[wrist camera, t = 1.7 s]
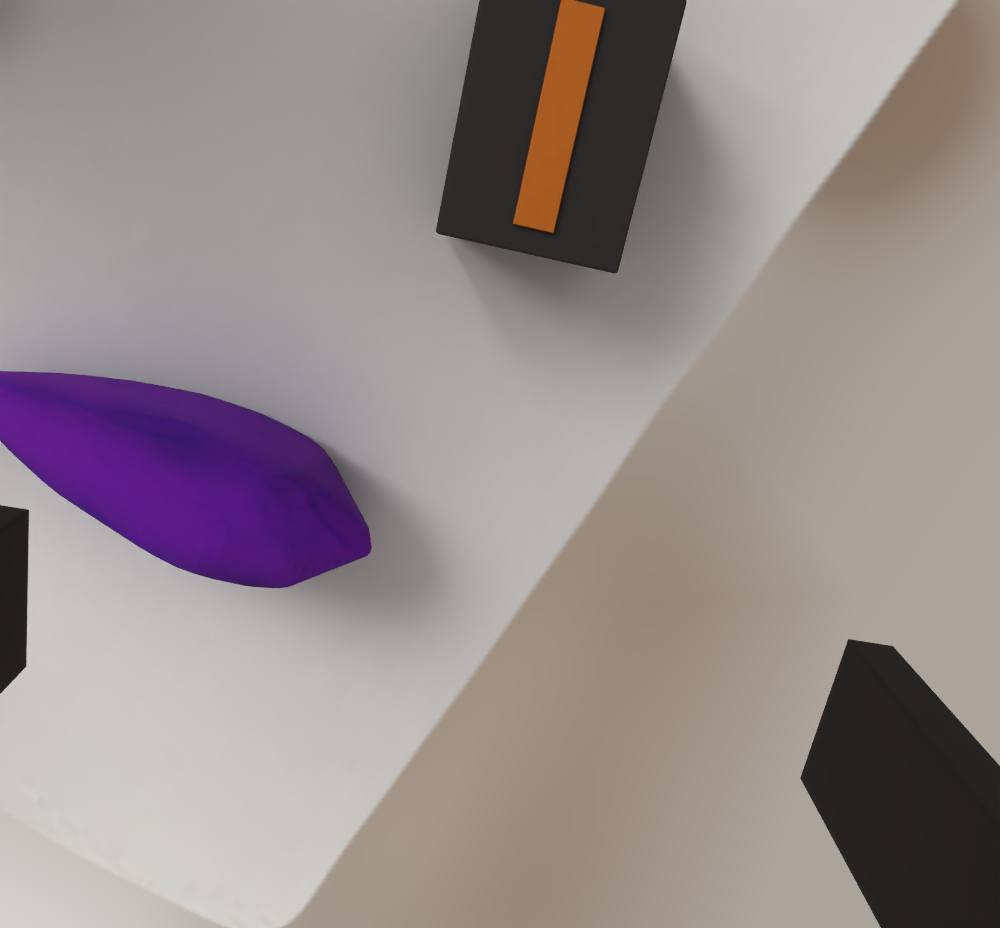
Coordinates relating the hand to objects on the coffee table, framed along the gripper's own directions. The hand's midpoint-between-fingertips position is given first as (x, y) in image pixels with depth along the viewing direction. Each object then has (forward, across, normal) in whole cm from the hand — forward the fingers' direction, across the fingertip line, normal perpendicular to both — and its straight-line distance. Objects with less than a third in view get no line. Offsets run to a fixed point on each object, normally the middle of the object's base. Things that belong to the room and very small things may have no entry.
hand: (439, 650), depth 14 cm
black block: (+18, +1, +9) cm, 20 cm away
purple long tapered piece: (+18, -10, -4) cm, 21 cm away
